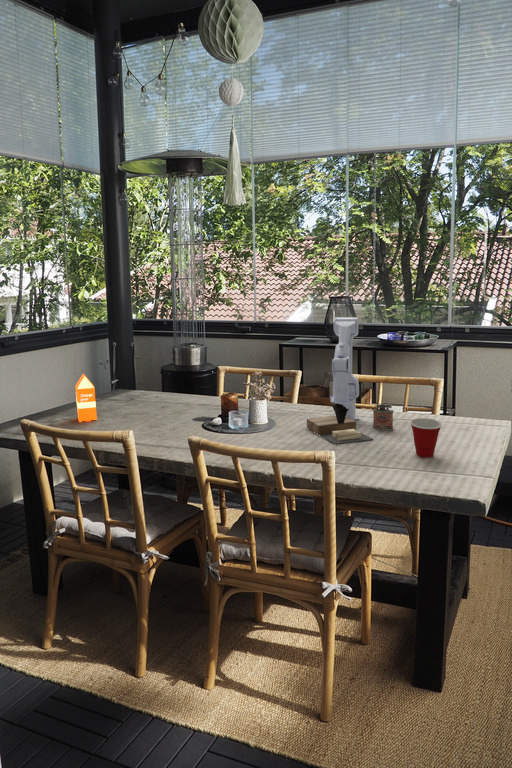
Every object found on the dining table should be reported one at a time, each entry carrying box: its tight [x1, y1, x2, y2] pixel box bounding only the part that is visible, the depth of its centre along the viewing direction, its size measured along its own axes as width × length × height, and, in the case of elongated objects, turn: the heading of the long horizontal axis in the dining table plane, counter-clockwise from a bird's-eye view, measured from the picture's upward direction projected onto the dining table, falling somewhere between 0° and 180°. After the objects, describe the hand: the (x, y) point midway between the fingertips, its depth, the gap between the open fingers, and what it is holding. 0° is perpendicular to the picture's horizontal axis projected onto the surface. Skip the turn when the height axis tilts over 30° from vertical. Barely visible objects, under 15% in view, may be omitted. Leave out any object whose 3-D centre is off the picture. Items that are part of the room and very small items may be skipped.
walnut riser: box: [306, 415, 357, 436], centre depth 266 cm, size 12×16×4 cm
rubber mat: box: [318, 431, 374, 445], centre depth 255 cm, size 14×16×1 cm
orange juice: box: [75, 373, 98, 423], centre depth 292 cm, size 8×9×20 cm
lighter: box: [372, 403, 394, 431], centre depth 266 cm, size 8×3×10 cm, turn 70°
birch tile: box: [332, 429, 362, 440], centre depth 254 cm, size 6×9×2 cm, turn 108°
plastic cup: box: [409, 417, 443, 459], centre depth 229 cm, size 11×11×12 cm
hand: (340, 423), depth 258 cm, fingers closed
